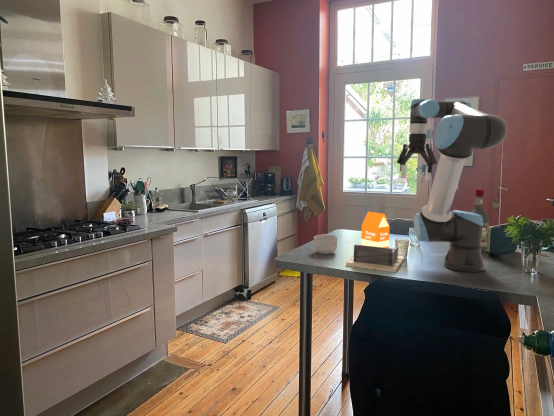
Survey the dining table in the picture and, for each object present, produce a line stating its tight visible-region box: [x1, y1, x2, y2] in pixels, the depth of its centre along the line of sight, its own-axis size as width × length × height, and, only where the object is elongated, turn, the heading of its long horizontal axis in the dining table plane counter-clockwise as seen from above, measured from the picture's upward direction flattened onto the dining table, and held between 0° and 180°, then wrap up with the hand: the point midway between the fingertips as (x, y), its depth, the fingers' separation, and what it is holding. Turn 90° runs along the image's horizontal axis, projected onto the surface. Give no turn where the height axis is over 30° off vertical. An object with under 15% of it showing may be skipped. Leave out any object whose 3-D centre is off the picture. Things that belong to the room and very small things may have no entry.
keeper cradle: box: [345, 244, 405, 273], centre depth 173 cm, size 22×20×8 cm
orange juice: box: [360, 211, 391, 248], centre depth 173 cm, size 8×9×20 cm
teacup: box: [313, 233, 338, 255], centre depth 191 cm, size 14×11×8 cm
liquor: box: [470, 188, 490, 253], centre depth 199 cm, size 9×9×30 cm
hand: (415, 179), depth 191 cm, fingers open, 13 cm apart
